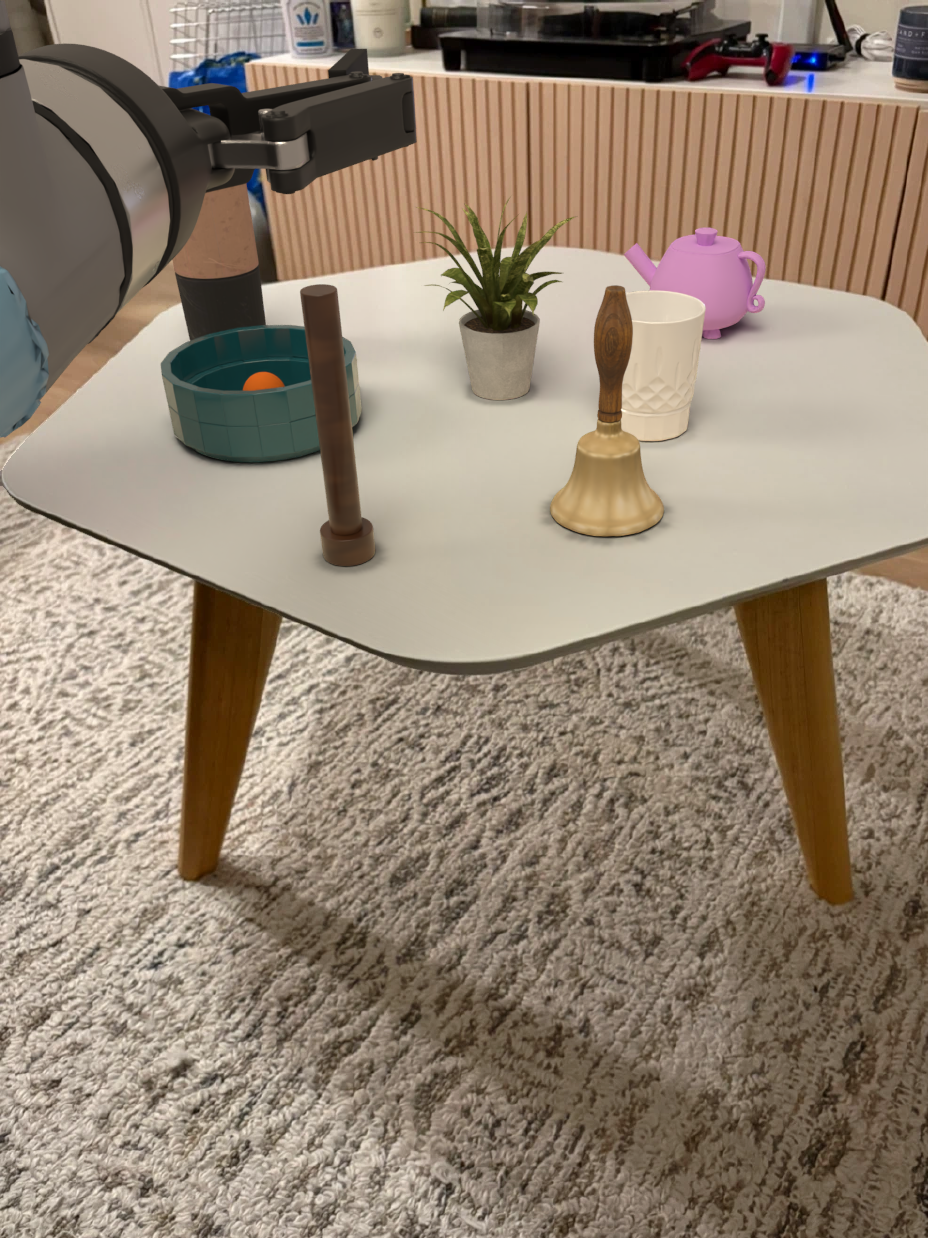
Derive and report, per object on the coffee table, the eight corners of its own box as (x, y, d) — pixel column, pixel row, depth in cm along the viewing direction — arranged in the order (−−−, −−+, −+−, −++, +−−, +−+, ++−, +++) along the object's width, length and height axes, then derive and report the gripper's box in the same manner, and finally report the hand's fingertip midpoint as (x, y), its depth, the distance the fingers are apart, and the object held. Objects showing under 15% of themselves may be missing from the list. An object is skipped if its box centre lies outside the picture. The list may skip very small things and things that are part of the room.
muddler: (322, 568, 74) (285, 300, 64) (324, 542, 77) (289, 281, 67) (375, 564, 75) (348, 297, 64) (375, 538, 78) (349, 278, 67)
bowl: (152, 466, 88) (135, 394, 84) (202, 390, 100) (190, 324, 96) (346, 466, 87) (338, 393, 83) (373, 390, 99) (366, 324, 96)
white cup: (663, 453, 88) (673, 329, 82) (582, 430, 92) (585, 309, 86) (712, 420, 93) (723, 301, 87) (632, 399, 97) (638, 283, 91)
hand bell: (531, 497, 82) (530, 280, 73) (628, 475, 85) (640, 263, 75) (581, 547, 76) (587, 317, 67) (685, 522, 79) (705, 297, 69)
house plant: (378, 404, 97) (360, 208, 87) (450, 352, 107) (441, 171, 97) (526, 431, 92) (525, 226, 82) (587, 373, 102) (592, 184, 92)
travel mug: (182, 372, 104) (136, 140, 92) (203, 343, 110) (162, 122, 98) (262, 372, 103) (227, 139, 91) (279, 343, 110) (247, 121, 98)
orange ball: (262, 379, 95) (230, 398, 93) (271, 356, 92) (237, 374, 90) (290, 411, 95) (257, 430, 93) (299, 389, 92) (266, 408, 90)
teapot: (743, 351, 106) (755, 251, 100) (601, 328, 111) (604, 232, 106) (777, 319, 113) (789, 223, 107) (641, 298, 119) (646, 207, 113)
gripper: (-270, 310, 38) (-15, 170, 55) (451, 306, 37) (483, 165, 54) (-378, 63, 33) (-64, -6, 51) (439, 51, 33) (478, -15, 50)
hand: (219, 82), depth 52 cm, fingers open, 13 cm apart
